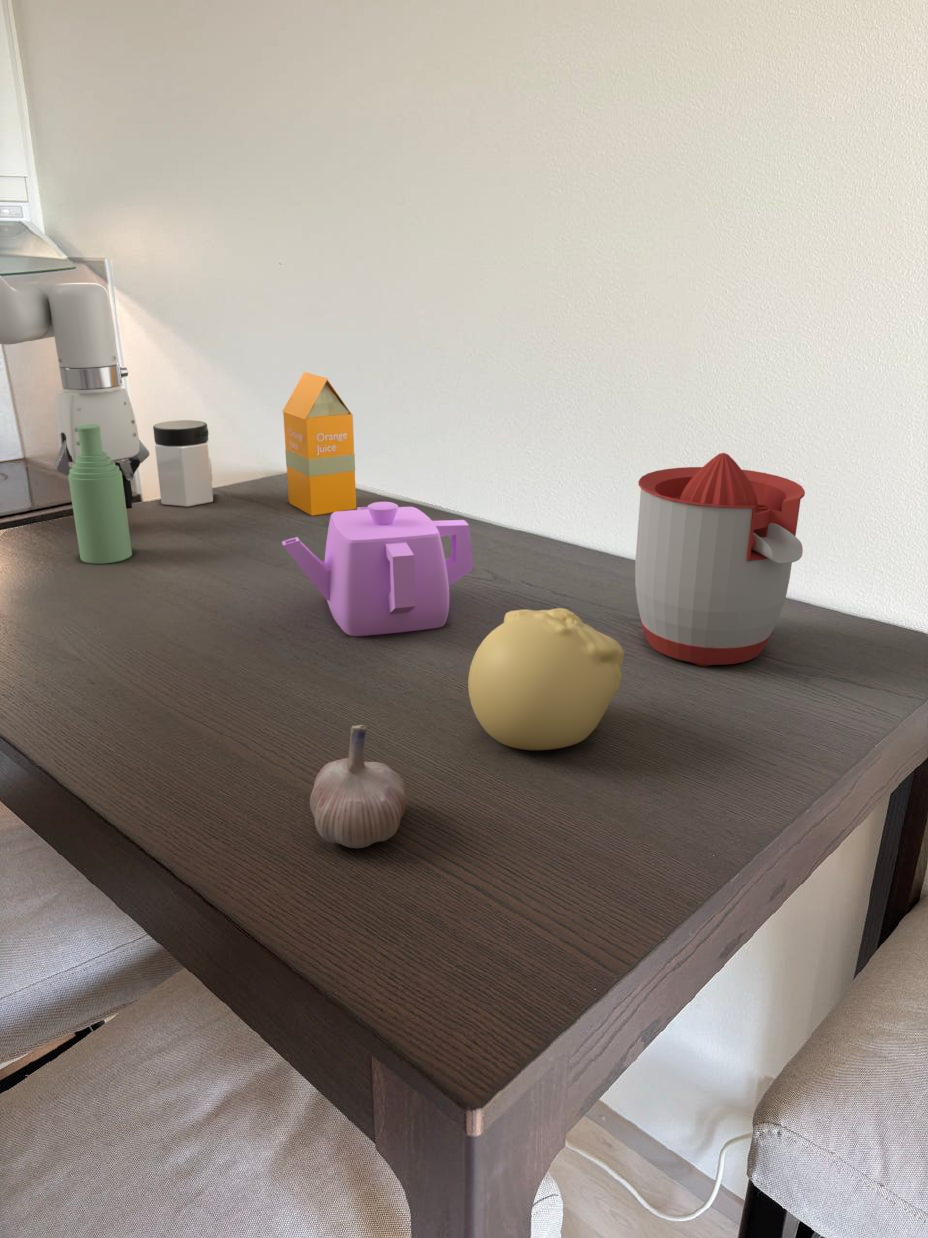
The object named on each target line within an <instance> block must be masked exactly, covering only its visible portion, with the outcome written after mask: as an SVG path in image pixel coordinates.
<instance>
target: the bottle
mask: <svg viewBox="0 0 928 1238" xmlns="http://www.w3.org/2000/svg"><path fill="white" fill-rule="evenodd" d="M77 430H78V436H79V443H80V450H81V454H79V455H78V459H76V460H75V463H74V462H73V464H72V465H71V467H72V468H71V469H70V470H69V473H70V474H69V475H68V476H67V479H68V485H69V491H70V493H69V494H70V498H71V499H70V500H71V505H72V512H73V519H74V526H75V531H76V539H77V545H78V551H79V556H80V557H79V559H80V561H81V562H84V563H87V564H95V565H97V564H98V565H99V564H100V565H101V564H102V565H103V564H104V565H105V564H113V563H118V562H122V561H124V560H125V561H126V560H127V559H129V558H131V556H132V555H133V549H132V542H131V535H130V534H131V533H130V527H129V520H128V519H129V518H128V512H127V511H128V509H127V508H126V503H125V495H124V487H123V479H122V472H121V471H120V470H119V466H117V465H115V462H114V461H111V458H110V457H108V456H107V455H106V453H105V452H103V448H102V441H101V434H100V430H101V429H100V426H99V425H95V424H88V425H80V426H78V427H77Z"/></svg>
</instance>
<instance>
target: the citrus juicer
mask: <svg viewBox="0 0 928 1238" xmlns="http://www.w3.org/2000/svg"><path fill="white" fill-rule="evenodd" d="M637 483H638V484H637V485H638V487H639V488H640V495H639V506H638V507H639V508H638V519H637V520H638V521H637V533H636V534H637V535H636V548H635V561H634V566H635V567H634V569H635V570H634V583H635V584H634V585H635V593H636V603H637V607H638V613H639V620H640V624H641V628H642V631H643V634H644V636H645V638H646V639H645V640H646V641H647V642H648V644H649V646H650V647H652V649H653V650H656V651H657V652H659V653H660V654H663V655H665V656H667V657H669V658H673V659H676V660H679V661H684V662H688V663H692V664H694V665H696V666H700V667H709V666H712V665H713V666H717V665H718V666H719V665H721V666H722V665H723V666H724V665H735V664H739V663H740V664H741V663H745V662H747V661H748V662H749V661H751V660H754V659H755V658H757V657H758V656H759V655H760V654H761V652H763V650H764V648H765V647H766V646H767V644H768V642H769V640H770V639H771V637H772V635H773V632H774V629H775V627H776V624H777V622H778V620H779V618H780V616H781V613H782V610H783V607H784V604H785V601H786V598H787V595H788V588H789V585H790V579H791V573H792V565H793V563H795V562H797V561H799V560H801V558H802V556H803V551H804V549H803V544H802V542H801V540H800V539H799V538H798V537H797V536H796V535H797V528H798V521H799V514H800V507H801V501H802V499H803V498H804V497H805V493H806V491H805V488H803V486H802V485H800V483H797V482H796V481H793V480H791V479H790V478H787V477H783V476H779V475H777V474H771V473H767V472H761V471H755V470H751V469H750V470H749V469H742V468H741V467H740V466H739V465H738V463H737V462H736V461H735V460H734V458H732V457H731V456H730V455H729V454H728V453H726V452H721V453H718V454H716V455H715V456H714V457H713V458H711V459H710V460H709V461H708V462H706V463H705V464H704V465H703V466H686V467H685V466H684V467H674V468H672V467H671V468H664V469H659V470H654V471H651V472H647V473H646V474H644V475H642V476H641V477H640V478H639V480H638V481H637Z"/></svg>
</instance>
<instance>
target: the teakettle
mask: <svg viewBox="0 0 928 1238" xmlns="http://www.w3.org/2000/svg"><path fill="white" fill-rule="evenodd" d="M328 522H329V523H328V528H327V529H328V530H327V534H326V535H327V536H326V543H325V553H324V560H323V561H322V560H321V559H320V558H319V557H318V556H317V555H315V553H314V552H312V551H311V549H310V548H308V547H307V546H306V545H305V543H303V542H302V541H301V540H300V539H299V537H298V536H295V537H292V538H289V539H285V540H283V541H281V544H282V547H283V549H284V550H285V551H286V553H288V554H289V556H290V557H291V558H292V559H293V561H294V562H295V563H296V564H297V566H298V567H299V568H300V569H301V571H302V572H303V573H304V574H305V575H306V577H307V579H309V581H310V582H311V583H312V584H313V585H314V587H315V588H316V589H317V590H318V592H319V593H320V594H321V595H322V596H323V598H324V599H325V600H326V602H327V606H328V608H329V611H330V614H331V615H332V618H333V620H334V621H335V622H336V624H337V625H338V626H339V628H340V629H341V631H343V632H344V633H345V634H346V635H349V636H350V637H368V636H379V635H391V634H400V633H408V632H418V631H426V630H432V629H439V628H440V629H441V628H443V627H444V626H445V625H446V622H447V619H448V615H449V612H450V587H449V586H451V585H452V584H453V583H455V582H457V581H459V580H460V579H462V578H463V577H465V576H466V575H469V574H470V573H471V572H473V571H474V562H473V552H472V539H471V529H470V524H469V523H468V522H467V521H466V520H465V519H453V520H452V519H448V520H446V519H444V520H432V519H431V518H430V517H429V516H428V515H426V513H424V512H423V511H422V510H421V509H419V508H417V507H415V506H399V505H398V504H397V503H394V502H391V501H376V502H372V503H370V504H368V505H367V506H360V507H359V506H356V509H352V510H345V511H339V512H332V513H330V517H329V521H328ZM443 537H451V544H450V545H451V549H450V550H451V555H450V557H448V558H446V557H445V551H444V548H443V547H444V546H443V542H442V538H443Z"/></svg>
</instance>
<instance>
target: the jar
mask: <svg viewBox="0 0 928 1238" xmlns="http://www.w3.org/2000/svg"><path fill="white" fill-rule="evenodd" d="M152 431H153V439H154V443H155V444H154V450H155V458H156V466H157V468H156V469H157V477H158V485H159V494H160V495H159V496H160V503H161V505H163V506H164V505H165V506H174V507H185V508H188V507H193V506H199V505H204V504H205V505H206V504H209V503H213V501H214V487H213V486H214V485H213V469H212V458H211V455H210V444H209V428H208V424H207V423H206V422H205V421H203V420H191V419H190V420H189V419H187V420H186V419H184V420H167V421H161V422H158V423H155V424H154V425H153V427H152Z"/></svg>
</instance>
